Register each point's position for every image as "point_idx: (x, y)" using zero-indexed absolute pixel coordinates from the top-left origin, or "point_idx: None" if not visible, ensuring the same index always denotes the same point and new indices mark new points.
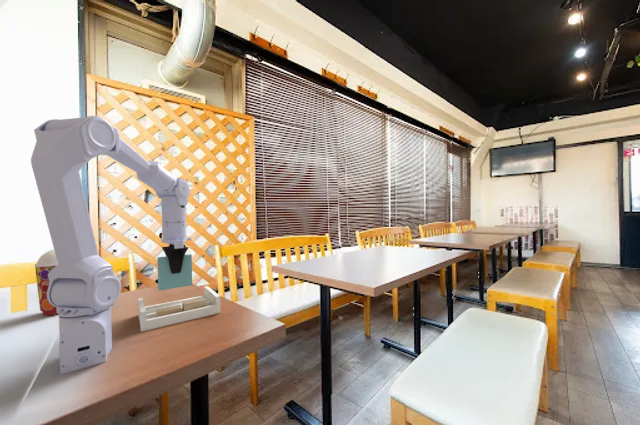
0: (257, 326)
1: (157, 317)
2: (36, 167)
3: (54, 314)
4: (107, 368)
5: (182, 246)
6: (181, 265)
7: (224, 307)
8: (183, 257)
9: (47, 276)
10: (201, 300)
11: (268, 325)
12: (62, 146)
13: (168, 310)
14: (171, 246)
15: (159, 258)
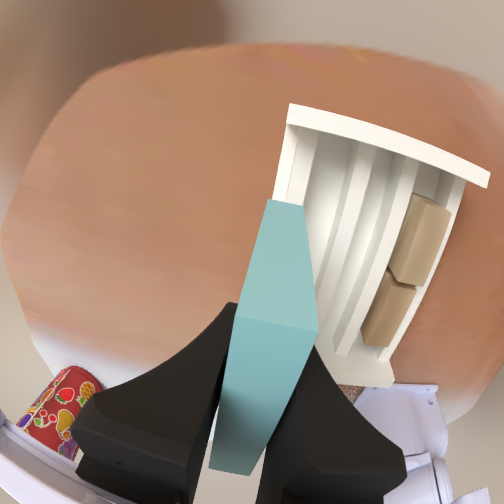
0: None
1: (393, 339)
2: None
3: (101, 389)
4: (440, 387)
5: (484, 498)
6: (316, 350)
7: (393, 98)
8: (345, 397)
9: (76, 453)
10: (443, 225)
11: None
12: None
13: (400, 321)
14: (180, 501)
15: (250, 471)
